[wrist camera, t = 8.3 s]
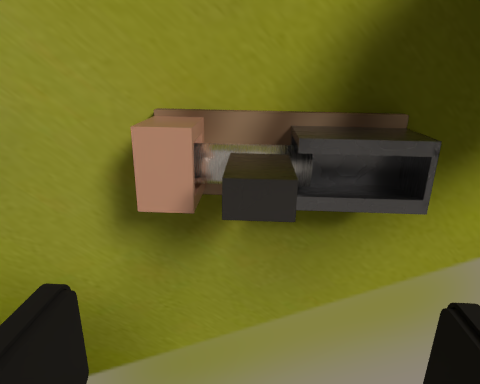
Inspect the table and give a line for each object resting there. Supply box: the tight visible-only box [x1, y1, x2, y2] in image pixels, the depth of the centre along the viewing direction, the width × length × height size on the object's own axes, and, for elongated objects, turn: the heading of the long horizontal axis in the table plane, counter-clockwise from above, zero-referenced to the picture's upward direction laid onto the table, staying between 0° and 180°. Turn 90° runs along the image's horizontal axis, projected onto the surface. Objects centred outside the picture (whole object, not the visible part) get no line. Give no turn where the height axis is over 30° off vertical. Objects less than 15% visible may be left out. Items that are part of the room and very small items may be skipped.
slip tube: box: [194, 143, 313, 222], centre depth 23 cm, size 11×3×9 cm, turn 89°
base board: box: [154, 109, 409, 195], centre depth 29 cm, size 20×7×1 cm, turn 89°
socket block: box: [131, 116, 205, 213], centre depth 26 cm, size 4×6×6 cm, turn 179°
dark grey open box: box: [290, 126, 441, 214], centre depth 26 cm, size 9×5×6 cm, turn 89°
